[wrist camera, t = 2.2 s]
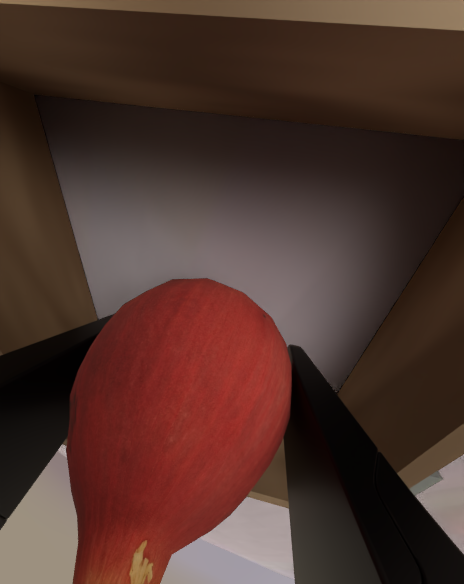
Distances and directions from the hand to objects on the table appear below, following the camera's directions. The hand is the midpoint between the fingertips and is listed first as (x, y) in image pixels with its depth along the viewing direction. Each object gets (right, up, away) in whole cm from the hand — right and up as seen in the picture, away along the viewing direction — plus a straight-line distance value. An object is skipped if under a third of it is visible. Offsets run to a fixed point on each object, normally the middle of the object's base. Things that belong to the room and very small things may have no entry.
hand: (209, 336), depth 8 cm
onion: (0, +1, +2) cm, 2 cm away
